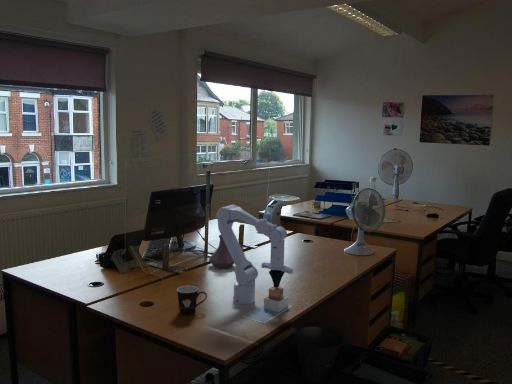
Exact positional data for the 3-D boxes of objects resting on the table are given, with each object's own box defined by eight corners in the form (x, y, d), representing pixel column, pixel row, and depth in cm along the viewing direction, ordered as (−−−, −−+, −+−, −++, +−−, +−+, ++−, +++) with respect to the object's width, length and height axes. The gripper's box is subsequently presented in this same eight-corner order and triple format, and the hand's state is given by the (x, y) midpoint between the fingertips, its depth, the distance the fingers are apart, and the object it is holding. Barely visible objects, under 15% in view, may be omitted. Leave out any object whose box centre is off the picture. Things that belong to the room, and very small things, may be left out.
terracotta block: (277, 302, 194) (277, 291, 193) (268, 300, 196) (268, 288, 195) (283, 299, 197) (283, 288, 196) (274, 296, 200) (274, 285, 199)
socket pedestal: (278, 312, 192) (279, 301, 192) (263, 308, 196) (264, 297, 196) (288, 306, 198) (288, 296, 198) (273, 302, 202) (273, 292, 202)
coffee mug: (173, 314, 190) (172, 291, 189) (183, 306, 198) (183, 284, 196) (198, 319, 186) (198, 295, 184) (207, 311, 194) (208, 288, 192)
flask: (213, 272, 245) (213, 235, 242) (204, 263, 260) (204, 229, 257) (242, 269, 251) (242, 233, 248) (231, 260, 266) (231, 226, 263)
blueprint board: (264, 325, 181) (264, 323, 181) (241, 318, 187) (241, 316, 187) (292, 308, 199) (292, 306, 199) (270, 302, 205) (270, 300, 205)
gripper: (257, 254, 195) (257, 285, 197) (287, 261, 187) (286, 293, 189) (266, 251, 201) (266, 281, 203) (296, 257, 193) (295, 288, 194)
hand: (276, 286), depth 196 cm, fingers closed
